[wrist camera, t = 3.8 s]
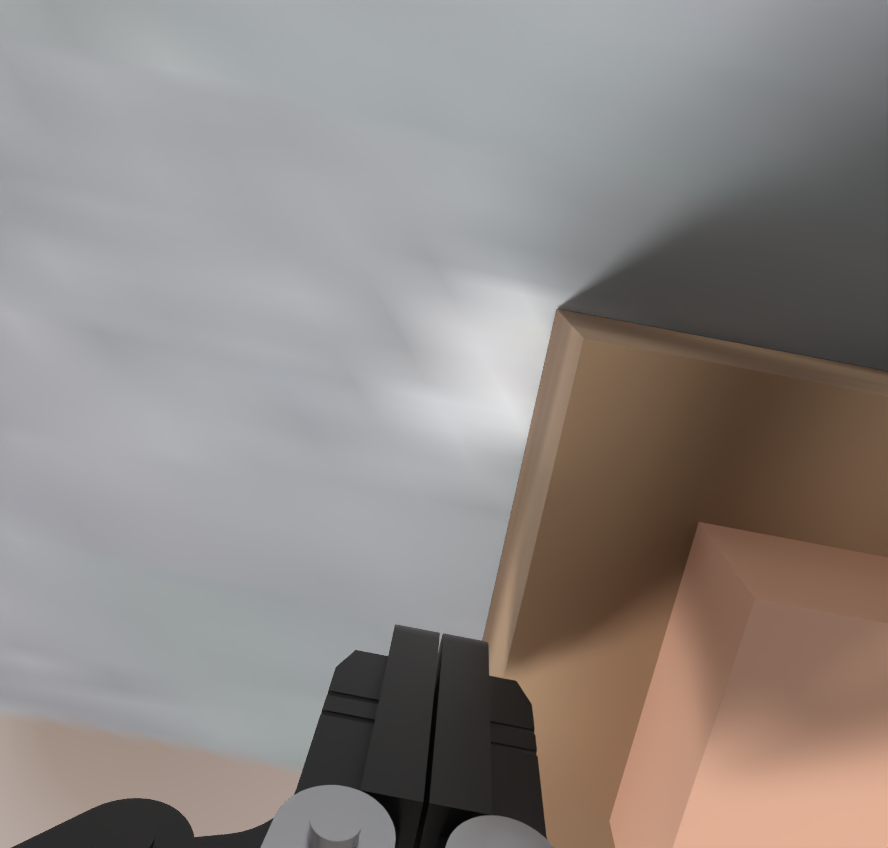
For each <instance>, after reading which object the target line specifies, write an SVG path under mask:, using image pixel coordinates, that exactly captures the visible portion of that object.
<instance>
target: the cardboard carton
mask: <svg viewBox="0 0 888 848" xmlns="http://www.w3.org/2000/svg"><path fill="white" fill-rule="evenodd" d="M699 522H702V523H708V524H713V525H718V526H724V527H729V528H734V529H740V530H745V531H750V532H755V533H761V534H766V535H771V536H777V537H782V538H787V539H793V540H798V541H803V542H809V543H814V544H819V545H825V546H830V547H835V548H840V549H846V550H851V551H856V552H862V553H867V554H872V555H878V556H883V557H888V371H883V370H877V369H872V368H867V367H861V366H856V365H851V364H846V363H840V362H835V361H830V360H825V359H819V358H814V357H809V356H803V355H798V354H793V353H788V352H782V351H777V350H772V349H766V348H761V347H756V346H751V345H745V344H740V343H735V342H730V341H724V340H719V339H714V338H708V337H703V336H698V335H693V334H687V333H682V332H677V331H671V330H666V329H661V328H656V327H650V326H645V325H640V324H635V323H629V322H624V321H619V320H613V319H608V318H603V317H598V316H592V315H587V314H582V313H576V312H571V311H566V310H561V309H556V314H555V318H554V322H553V327H552V331H551V336H550V340H549V345H548V349H547V354H546V358H545V363H544V367H543V372H542V376H541V381H540V385H539V390H538V394H537V399H536V403H535V408H534V412H533V417H532V421H531V425H530V430H529V434H528V439H527V443H526V448H525V452H524V457H523V461H522V466H521V470H520V475H519V479H518V484H517V488H516V493H515V497H514V502H513V506H512V511H511V515H510V519H509V524H508V528H507V533H506V537H505V542H504V546H503V551H502V555H501V560H500V564H499V569H498V573H497V578H496V582H495V587H494V591H493V596H492V600H491V605H490V609H489V614H488V618H487V622H486V627H485V631H484V636H483V640H482V641H485V642H488V645H489V676H494V677H499V678H505V679H510V680H515V681H517V682H518V684H519V685H520V687H521V689H522V690H523V692H524V693H525V695H526V696H527V698H528V699H529V701H530V702H531V704H532V709H533V718H534V727H535V731H534V734H535V736H536V746H537V754H536V756H538V764H539V773H540V782H541V791H542V800H543V809H544V819H545V828H546V837H547V840H548V841H549V842H550V843H551V844H552V846H553V847H554V848H615V844H614V840H613V835H612V831H611V826H610V822H609V820H610V817H611V814H612V810H613V807H614V804H615V800H616V797H617V794H618V790H619V787H620V784H621V780H622V777H623V774H624V770H625V767H626V764H627V760H628V757H629V754H630V750H631V747H632V743H633V740H634V737H635V733H636V730H637V727H638V723H639V720H640V717H641V713H642V710H643V707H644V703H645V700H646V697H647V693H648V690H649V687H650V683H651V680H652V677H653V673H654V670H655V667H656V663H657V660H658V657H659V653H660V650H661V647H662V643H663V640H664V637H665V633H666V630H667V627H668V623H669V620H670V616H671V613H672V610H673V606H674V603H675V600H676V596H677V593H678V590H679V586H680V583H681V580H682V576H683V573H684V570H685V566H686V563H687V560H688V556H689V553H690V550H691V546H692V543H693V540H694V536H695V533H696V530H697V526H698V523H699Z"/></svg>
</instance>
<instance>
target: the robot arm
mask: <svg viewBox="0 0 888 848" xmlns="http://www.w3.org/2000/svg"><path fill="white" fill-rule="evenodd" d="M439 635H440V633H437V632H432V631H427V630H422V629H417V628H411V627H406V626H401V625H396V624H395V628H394V632H393V637H392V642H391V647H390V651H389V656H384V655H379V654H373V653H368V652H363V651H358V650H355V651H354V652H353V653H352V654H351V655H349V656H348V657H347V658H346V659H345V660H344V661H343V662H341V663H340V664H339V665H338V666H337V667H336V669H335V672H334V675H333V678H332V681H331V684H330V687H329V691H328V695H327V697H326V700H325V703H324V706H323V709H322V713H321V715H320V718H319V721H318V724H317V727H316V731H315V734H314V737H313V740H312V743H311V746H310V749H309V752H308V755H307V758H306V761H305V764H304V768H303V771H302V774H301V777H300V780H299V783H298V786H297V789H296V791H295V794H294V795H293V796H292V797H291V798H289V799H288V800H287V801H286V802H285V803H284V804H283V805H282V806H281V807H280V808H279V810H278V811H277V813H276V815H275V817H274V818H273V819H271V820H270V821H268V822H266V823H264V824H262V825H260V826H258V827H255V828H253V829H250V830H246V831H243V832H239V833H232V834H226V835H225V834H224V835H214V836H203V837H194V834H193V831H192V828H191V826H190V824H189V822H188V821H187V820H186V818H185V817H184V816H183V815H182V814H181V813H180V812H179V811H178V810H176V809H175V808H173V807H171V806H170V805H167V804H165V803H162V802H159V801H155V800H151V799H140V798H133V799H122V800H116V801H112V802H108V803H105V804H102V805H100V806H97V807H95V808H92V809H91V810H88V811H86V812H84V813H82V814H80V815H78V816H76V817H74V818H72V819H70V820H68V821H65V822H64V823H61V824H59V825H57V826H55V827H53V828H51V829H49V830H47V831H45V832H43V833H41V834H39V835H37V836H34V837H32V838H31V839H28V840H26V841H24V842H22V843H20V844H18V845H16V846H14V847H12V848H554V847H553V846H552V844H551V843H550V842H549V841H548V840H547V837H546V828H545V819H544V809H543V800H542V791H541V782H540V773H539V764H538V756H536V754H537V746H536V736H535V734H534V731H535V727H534V718H533V709H532V704H531V702H530V701H529V699H528V698H527V696H526V695H525V693H524V692H523V690H522V689H521V687H520V685H519V684H518V682H517V681H515V680H510V679H505V678H499V677H494V676H489V645H488V642H485V641H480V640H475V639H470V638H464V637H459V636H454V635H449V634H444V633H443V635H442V639H441V643H440V647H439V652H438V646H439ZM437 656H438V657H437Z"/></svg>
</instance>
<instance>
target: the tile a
mask: <svg viewBox="0 0 888 848" xmlns="http://www.w3.org/2000/svg"><path fill="white" fill-rule="evenodd" d="M609 822H610V826H611V831H612V835H613V840H614V844H615V848H888V557H883V556H878V555H872V554H867V553H862V552H856V551H851V550H846V549H840V548H835V547H830V546H825V545H819V544H814V543H809V542H803V541H798V540H793V539H787V538H782V537H777V536H771V535H766V534H761V533H755V532H750V531H745V530H740V529H734V528H729V527H724V526H718V525H713V524H708V523H702V522H699V523H698V526H697V530H696V533H695V536H694V540H693V543H692V546H691V550H690V553H689V556H688V560H687V563H686V566H685V570H684V573H683V576H682V580H681V583H680V586H679V590H678V593H677V596H676V600H675V603H674V606H673V610H672V613H671V616H670V620H669V623H668V627H667V630H666V633H665V637H664V640H663V643H662V647H661V650H660V653H659V657H658V660H657V663H656V667H655V670H654V673H653V677H652V680H651V683H650V687H649V690H648V693H647V697H646V700H645V703H644V707H643V710H642V713H641V717H640V720H639V723H638V727H637V730H636V733H635V737H634V740H633V743H632V747H631V750H630V754H629V757H628V760H627V764H626V767H625V770H624V774H623V777H622V780H621V784H620V787H619V790H618V794H617V797H616V800H615V804H614V807H613V810H612V814H611V817H610V820H609Z"/></svg>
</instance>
